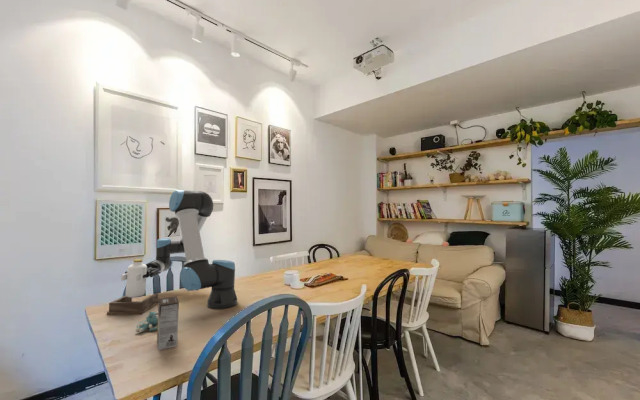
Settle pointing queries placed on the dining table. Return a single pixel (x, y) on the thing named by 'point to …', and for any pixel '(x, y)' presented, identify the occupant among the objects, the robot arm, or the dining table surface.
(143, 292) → the potion bottle
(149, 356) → the dining table surface
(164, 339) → the coffee box
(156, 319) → the stuffed animal
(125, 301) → the walnut stand
